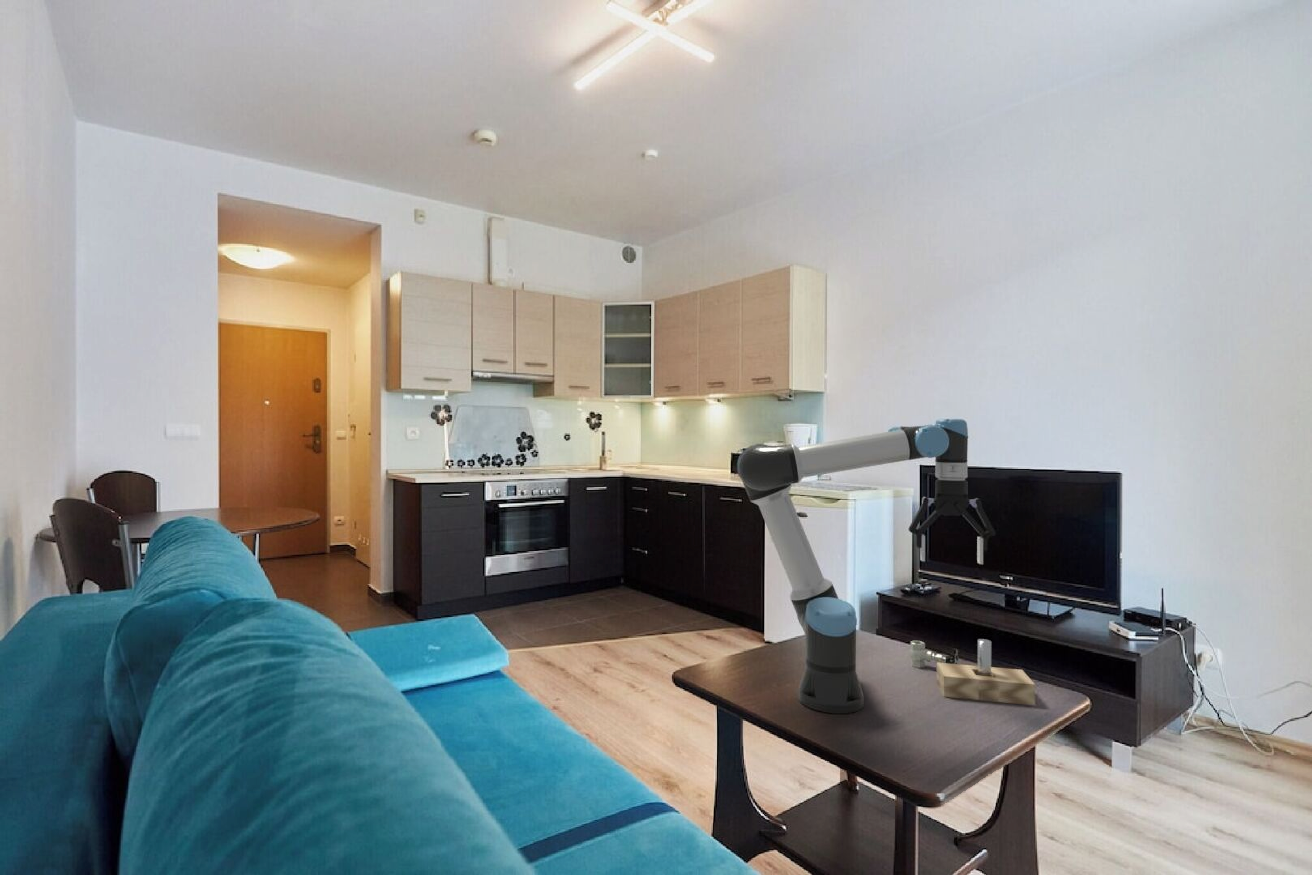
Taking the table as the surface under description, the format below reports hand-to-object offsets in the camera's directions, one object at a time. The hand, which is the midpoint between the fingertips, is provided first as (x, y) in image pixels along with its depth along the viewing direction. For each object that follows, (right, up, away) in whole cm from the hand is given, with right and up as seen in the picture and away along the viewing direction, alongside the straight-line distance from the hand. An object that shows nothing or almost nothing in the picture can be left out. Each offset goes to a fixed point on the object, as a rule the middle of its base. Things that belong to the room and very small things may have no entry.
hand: (951, 562), depth 163 cm
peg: (+6, -32, -5) cm, 33 cm away
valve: (+1, -32, +12) cm, 34 cm away
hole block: (+6, -32, -5) cm, 33 cm away
